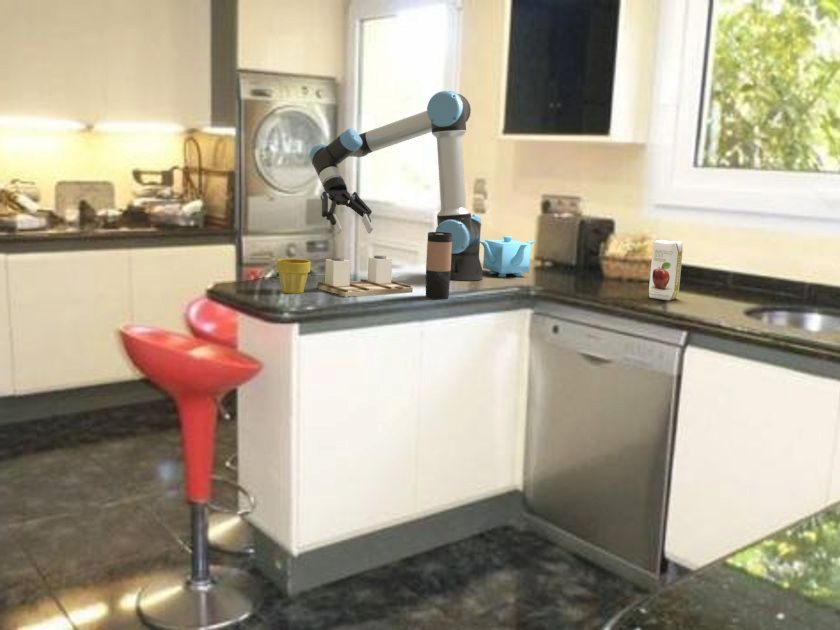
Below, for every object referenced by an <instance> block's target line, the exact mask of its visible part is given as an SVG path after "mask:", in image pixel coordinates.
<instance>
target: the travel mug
mask: <svg viewBox="0 0 840 630" xmlns="http://www.w3.org/2000/svg"><path fill="white" fill-rule="evenodd" d="M426 244H427V245H426V262H425V298H427V299H431V300H447V299H449V298H450V297H449V294H450V285H451V284H450V282H451V279H450V273H451V250H452V233H446V232H435V231H429V232H427V243H426Z"/></svg>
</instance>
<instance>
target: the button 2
mask: <svg viewBox="0 0 840 630" xmlns="http://www.w3.org/2000/svg"><path fill="white" fill-rule="evenodd" d="M367 259H368V261H367V280H368V281H371V282H375V283H379V284H383V283H391V281H392V275H393V273H392V272H393V271H392V270H393V269H392V268H393V258H390V257H387V256H386V255H373V257H368V258H367Z"/></svg>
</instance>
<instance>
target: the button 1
mask: <svg viewBox="0 0 840 630" xmlns="http://www.w3.org/2000/svg"><path fill="white" fill-rule="evenodd" d="M324 271H325V277H324V280H325V281H324V283H326V284H329V285H332V286H336V287H339V286H350V282H351V276H350V275H351V260H349V259H345V257H337V256H336V257H331V258H329V259H325V270H324Z"/></svg>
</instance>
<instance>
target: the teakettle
mask: <svg viewBox="0 0 840 630" xmlns="http://www.w3.org/2000/svg"><path fill="white" fill-rule="evenodd" d="M536 242H537V240H529V241H527V242H523V241H519V240H513V236H511V235H509V236H508V235H504V236H503V237H502V239H484V241H482V240H480V244H481V245H482V246H483V265H482V269H485V270H489V273H488V275H492V274H495V275H497V273H498V275H497V276H498V278H507V275H514V277H515V276H516V278H522V277H523V275H522V274H525V273H527V274H528V273H530V264H531V263H530V261H531V247H532V245H533V243H536Z"/></svg>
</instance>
